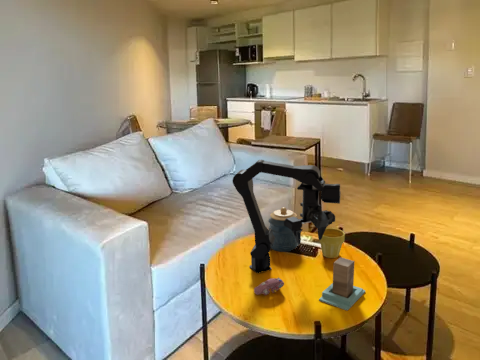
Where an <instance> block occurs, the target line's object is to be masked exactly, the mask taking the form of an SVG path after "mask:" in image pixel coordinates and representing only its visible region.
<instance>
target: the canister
mask: <svg viewBox="0 0 480 360" xmlns="http://www.w3.org/2000/svg"><path fill="white" fill-rule="evenodd" d="M290 217H296V218H297V219H299V218H298V215H297V213H296V212H294V211H292V210H290V209H287V207H284V206H282V207H281V208H280V209H276V210H274V211H273V212H271V213H270V217H269V218H268V223H269V225H268V227H267V229H268V230H269V229H272V231H273V235H274V237H275V239H274V244H273V246H272V248H271V250H274V251H276V252H282V253H283V252H284V253H286V252H291V250H293V249H295V248H296V247H297V246H298V247H299V244H298V243H297V241H296V239H295V236H294V234H293V232H292V230H291V229H289V228H288V227H286V226H284V221H285V219H286V218H290ZM298 247H297V248H298ZM295 250H296V249H295ZM293 251H294V250H293Z"/></svg>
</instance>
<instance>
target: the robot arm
mask: <svg viewBox="0 0 480 360" xmlns="http://www.w3.org/2000/svg"><path fill="white" fill-rule="evenodd" d="M260 173H263V174H268V175H274V176H280V177H285V178H291V179H293V180H296V181H298V182H300V184H298V186H297V188H296V189H297V190H298V191H302V202H300V203H299V204H300V207H301V208H302V209H301V210H302V211H301V213H299V215H300V216H299V217H301V218H298V217H290V218H286V219H285V221H284V226H286V227H288V228H289V229H291V230H292V232H293V234H294V236H295V239H296V241H297V243H298V246H299V245H301V242H302V241H301V238H302V236H301V235H302V234H301V233H302V232H303V225H304V224H310V223H312V224H313V225H314V227H315V228H316V229H317V237H318V241H319V240H321V239H322V236H323V234H324V232H325V229H326V228H328V227H329V226H330V225H332V224H333V223H335V222H336V215H335V214H334V213H333V212H332V211H331V210H322V205H321V204H320V200H321V202H323V203H325V204H341V195H342V194H341V183H326V181H325V179H324V178H323V177H322V175H321V171H320V168H319V167H317V166H316V165H313V164H311V165H309V164H304V165H290V164H285V163H279V162H273V161H267V160H264V159H258V160H257V161H255V163H253V164H252V165H251V166H249V167H247V168H246V169H240V170H238V172H236V174H235V175H233V177H232V180H231V181H232V184H233V186H234V188H235V190H236V191H237V193H238V194H239V195H240V196H241V197H242V200H243V203H244V205H245V208H246V211H247V214H248V217H249V220H250V223H251V226H252V228H253V231H254V242H255V243H254V245H253V248H252V249H251V251H250V253H249V254H250V257H251V258H250V259H251V263H250V265H249V268H250V269H251V270H252V271H254V273H256V274H261V273H264V272H269V271H272V267H271V256H270V252H271V250H272V249H271V248H272V246H273V244H274V239H275V237H274V235H273V231H272V229H268V227H267V226H266V224H265V221H264V218H263V215H262V213H261V210H260V207H259V205H258V204H259V203H258V202H257V199H256V195H255V193H254V180H253V178H255V177H256V176H257V175H259V174H260ZM297 218H298V219H297Z"/></svg>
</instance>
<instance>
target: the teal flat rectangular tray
mask: <svg viewBox="0 0 480 360" xmlns="http://www.w3.org/2000/svg"><path fill="white" fill-rule="evenodd" d="M365 293H366V290H365V289H364V288H362V287H359V286H355V285H353V294H352V295H351V296H350V297H349V298H345V297H342V296H339V295H336V294H333V282H332V283H331V284H330V285H329V286H328V287H327V288H325V289H324V290H323V291H322V292H321V297H320V298H319V299H318V301H319V302H323V303H324V304H328V305H331V306H333V307H337V308H338V309H341V310H344V311H348V310H349V309H351V308H352V307H353V306H354V304H355V303H356V302H357V301H358V300H359V299H360V298H361V297H362V296H363V295H364V294H365Z"/></svg>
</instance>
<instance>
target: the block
mask: <svg viewBox="0 0 480 360" xmlns="http://www.w3.org/2000/svg"><path fill="white" fill-rule="evenodd" d="M332 270H333V271H332V283H333V294H336V295H339V296H342V297H345V298H349V297H350V296H351V295H352V294H353V286H354V280H355V278H354V277H355V260H351V259H348V258H345V257H341V256H340V257H339V258H338V259H336V260H335V261H334V262H333V269H332Z"/></svg>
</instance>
